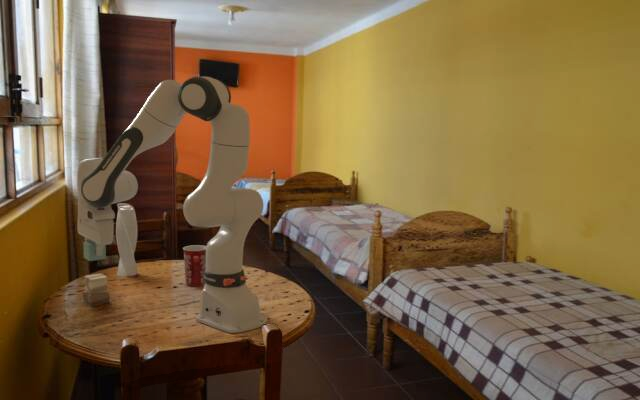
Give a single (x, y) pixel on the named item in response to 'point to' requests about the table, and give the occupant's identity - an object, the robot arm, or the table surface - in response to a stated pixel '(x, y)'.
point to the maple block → (96, 284)
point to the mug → (194, 264)
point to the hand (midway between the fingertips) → (94, 253)
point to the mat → (95, 304)
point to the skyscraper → (126, 239)
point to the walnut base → (95, 298)
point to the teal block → (92, 251)
